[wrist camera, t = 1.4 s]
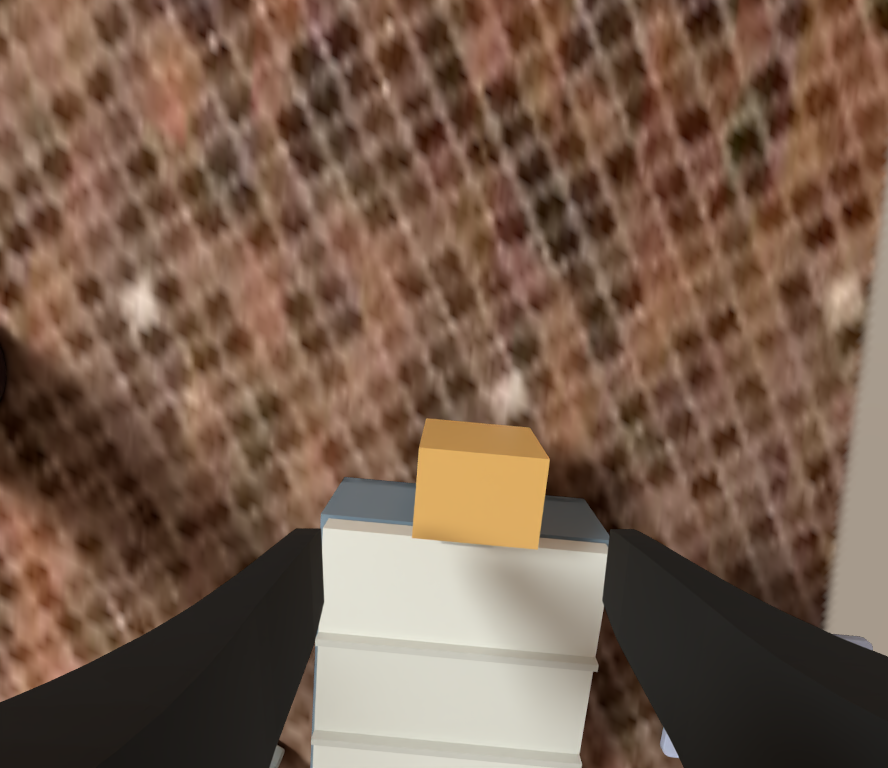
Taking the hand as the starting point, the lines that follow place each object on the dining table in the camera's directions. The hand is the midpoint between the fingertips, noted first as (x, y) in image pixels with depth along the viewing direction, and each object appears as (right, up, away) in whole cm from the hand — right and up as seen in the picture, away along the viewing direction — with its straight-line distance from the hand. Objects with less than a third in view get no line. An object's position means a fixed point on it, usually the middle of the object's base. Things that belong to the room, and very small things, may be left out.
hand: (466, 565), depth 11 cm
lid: (0, -6, +8) cm, 10 cm away
